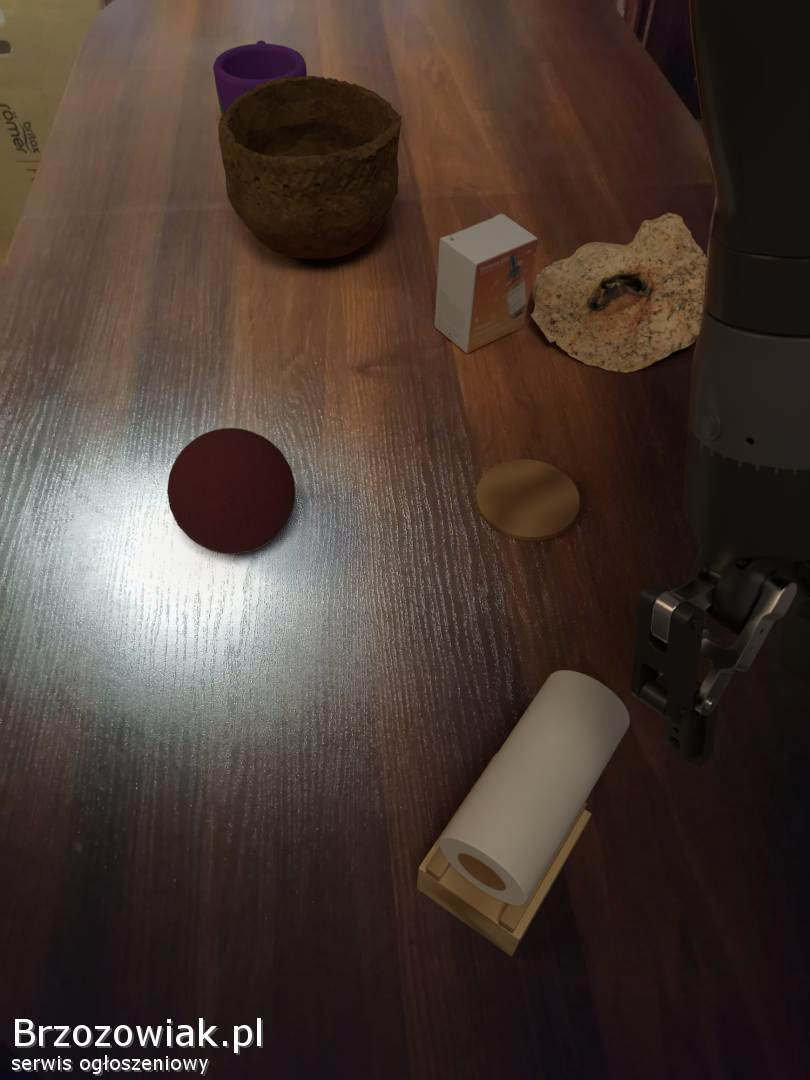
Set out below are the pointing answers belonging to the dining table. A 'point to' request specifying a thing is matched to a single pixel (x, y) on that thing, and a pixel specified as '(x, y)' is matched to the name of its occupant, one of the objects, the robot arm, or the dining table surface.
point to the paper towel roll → (535, 786)
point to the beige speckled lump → (625, 297)
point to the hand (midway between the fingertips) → (746, 711)
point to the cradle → (481, 908)
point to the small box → (484, 282)
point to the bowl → (311, 164)
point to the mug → (253, 69)
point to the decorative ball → (231, 490)
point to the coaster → (527, 500)
